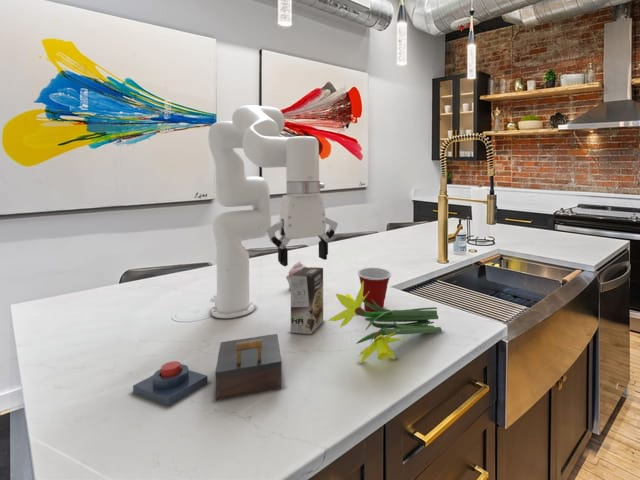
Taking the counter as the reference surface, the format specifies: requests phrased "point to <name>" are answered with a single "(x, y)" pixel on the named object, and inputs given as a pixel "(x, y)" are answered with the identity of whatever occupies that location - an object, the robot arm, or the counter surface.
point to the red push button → (170, 369)
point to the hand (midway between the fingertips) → (303, 261)
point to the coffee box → (306, 300)
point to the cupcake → (293, 270)
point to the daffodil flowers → (385, 315)
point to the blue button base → (170, 386)
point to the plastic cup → (374, 286)
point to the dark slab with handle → (248, 355)
